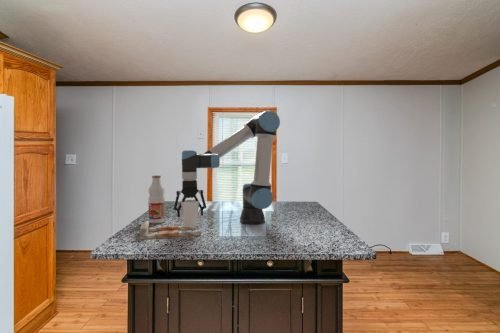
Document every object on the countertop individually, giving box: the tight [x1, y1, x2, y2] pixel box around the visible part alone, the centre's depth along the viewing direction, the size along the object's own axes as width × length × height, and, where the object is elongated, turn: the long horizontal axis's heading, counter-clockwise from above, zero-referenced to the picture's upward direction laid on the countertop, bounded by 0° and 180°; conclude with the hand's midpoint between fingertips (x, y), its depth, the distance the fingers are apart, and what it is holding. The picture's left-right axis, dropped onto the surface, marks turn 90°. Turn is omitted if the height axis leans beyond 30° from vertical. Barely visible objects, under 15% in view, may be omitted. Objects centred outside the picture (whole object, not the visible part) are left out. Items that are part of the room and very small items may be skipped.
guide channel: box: [139, 221, 202, 240], centre depth 152 cm, size 29×15×5 cm, turn 105°
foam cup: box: [180, 199, 200, 227], centre depth 155 cm, size 10×9×13 cm
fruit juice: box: [148, 175, 166, 224], centre depth 178 cm, size 9×9×28 cm
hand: (190, 222), depth 155 cm, fingers closed on foam cup, 9 cm apart
